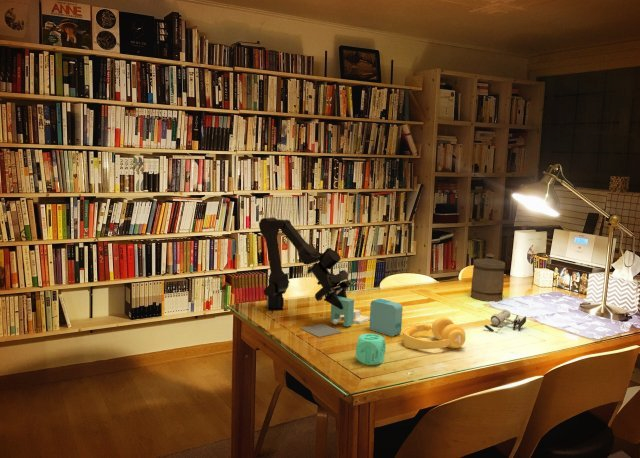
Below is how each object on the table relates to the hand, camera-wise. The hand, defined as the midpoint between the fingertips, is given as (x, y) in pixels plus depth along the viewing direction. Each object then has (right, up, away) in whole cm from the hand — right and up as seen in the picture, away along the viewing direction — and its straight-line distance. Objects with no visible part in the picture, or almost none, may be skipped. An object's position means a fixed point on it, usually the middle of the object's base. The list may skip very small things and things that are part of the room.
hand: (345, 307), depth 218 cm
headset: (+31, -11, -17) cm, 37 cm away
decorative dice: (+7, -13, -35) cm, 38 cm away
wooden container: (+71, -3, +54) cm, 89 cm away
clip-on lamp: (+64, -9, +5) cm, 65 cm away
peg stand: (+1, -7, +5) cm, 9 cm away
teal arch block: (-1, -6, +2) cm, 7 cm away
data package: (+15, -9, -5) cm, 18 cm away
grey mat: (-10, -8, -6) cm, 14 cm away
